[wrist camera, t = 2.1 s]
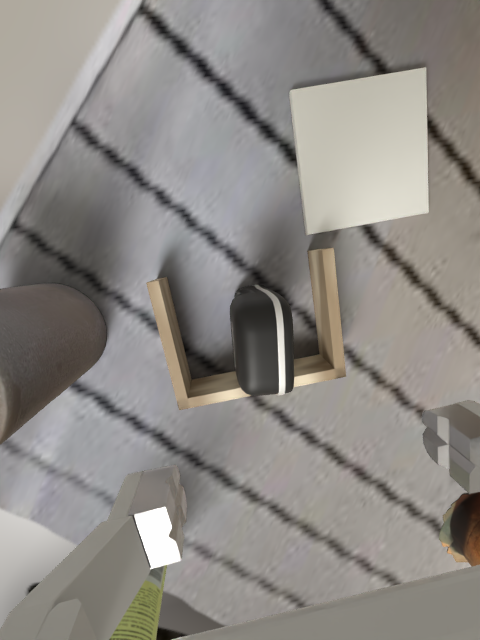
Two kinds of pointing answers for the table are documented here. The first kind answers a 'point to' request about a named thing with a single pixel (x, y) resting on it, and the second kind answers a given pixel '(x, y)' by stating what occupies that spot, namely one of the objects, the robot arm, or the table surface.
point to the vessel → (463, 529)
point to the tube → (143, 610)
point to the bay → (227, 384)
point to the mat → (361, 150)
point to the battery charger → (262, 341)
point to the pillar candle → (43, 347)
